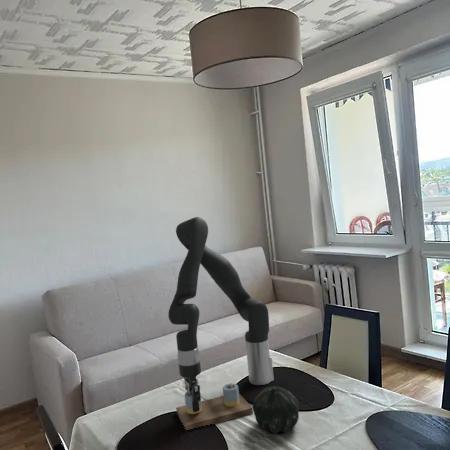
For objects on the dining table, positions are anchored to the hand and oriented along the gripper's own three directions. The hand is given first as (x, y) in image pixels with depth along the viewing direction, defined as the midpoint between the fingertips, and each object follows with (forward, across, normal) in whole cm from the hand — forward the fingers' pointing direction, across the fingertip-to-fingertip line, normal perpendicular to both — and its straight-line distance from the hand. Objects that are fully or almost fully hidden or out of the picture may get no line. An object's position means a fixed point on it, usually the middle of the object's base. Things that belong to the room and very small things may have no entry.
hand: (194, 407), depth 156 cm
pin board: (+4, 0, -7) cm, 8 cm away
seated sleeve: (+2, 0, -14) cm, 14 cm away
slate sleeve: (+1, 0, 0) cm, 1 cm away
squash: (+4, -19, -23) cm, 30 cm away
